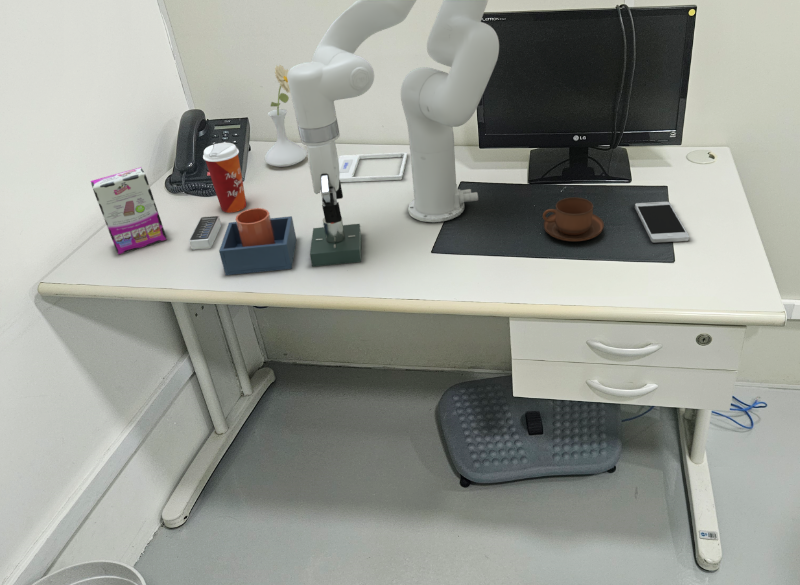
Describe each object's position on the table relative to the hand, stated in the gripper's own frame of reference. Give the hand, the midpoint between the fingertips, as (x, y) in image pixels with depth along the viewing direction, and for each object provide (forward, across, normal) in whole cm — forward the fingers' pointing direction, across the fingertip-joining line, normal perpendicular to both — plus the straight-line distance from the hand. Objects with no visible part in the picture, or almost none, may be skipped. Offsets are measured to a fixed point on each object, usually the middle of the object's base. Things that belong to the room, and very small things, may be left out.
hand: (334, 209), depth 144 cm
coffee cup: (+9, -25, -27) cm, 38 cm away
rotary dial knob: (+6, +1, -1) cm, 6 cm away
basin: (+9, 0, -17) cm, 19 cm away
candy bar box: (+8, -11, -46) cm, 48 cm away
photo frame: (+10, -39, +6) cm, 41 cm away
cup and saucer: (+11, +3, +48) cm, 49 cm away
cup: (+8, 0, -17) cm, 19 cm away
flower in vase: (+10, -50, -16) cm, 54 cm away
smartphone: (+12, +3, +66) cm, 67 cm away
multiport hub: (+9, -11, -31) cm, 34 cm away
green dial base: (+9, +1, -1) cm, 9 cm away
